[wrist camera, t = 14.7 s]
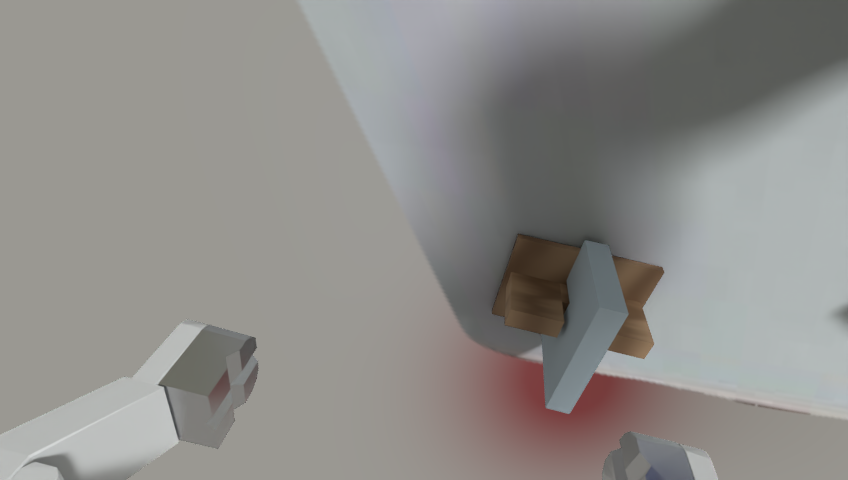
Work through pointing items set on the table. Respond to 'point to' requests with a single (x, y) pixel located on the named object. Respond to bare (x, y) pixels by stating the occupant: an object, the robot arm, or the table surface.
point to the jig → (548, 294)
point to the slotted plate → (583, 327)
